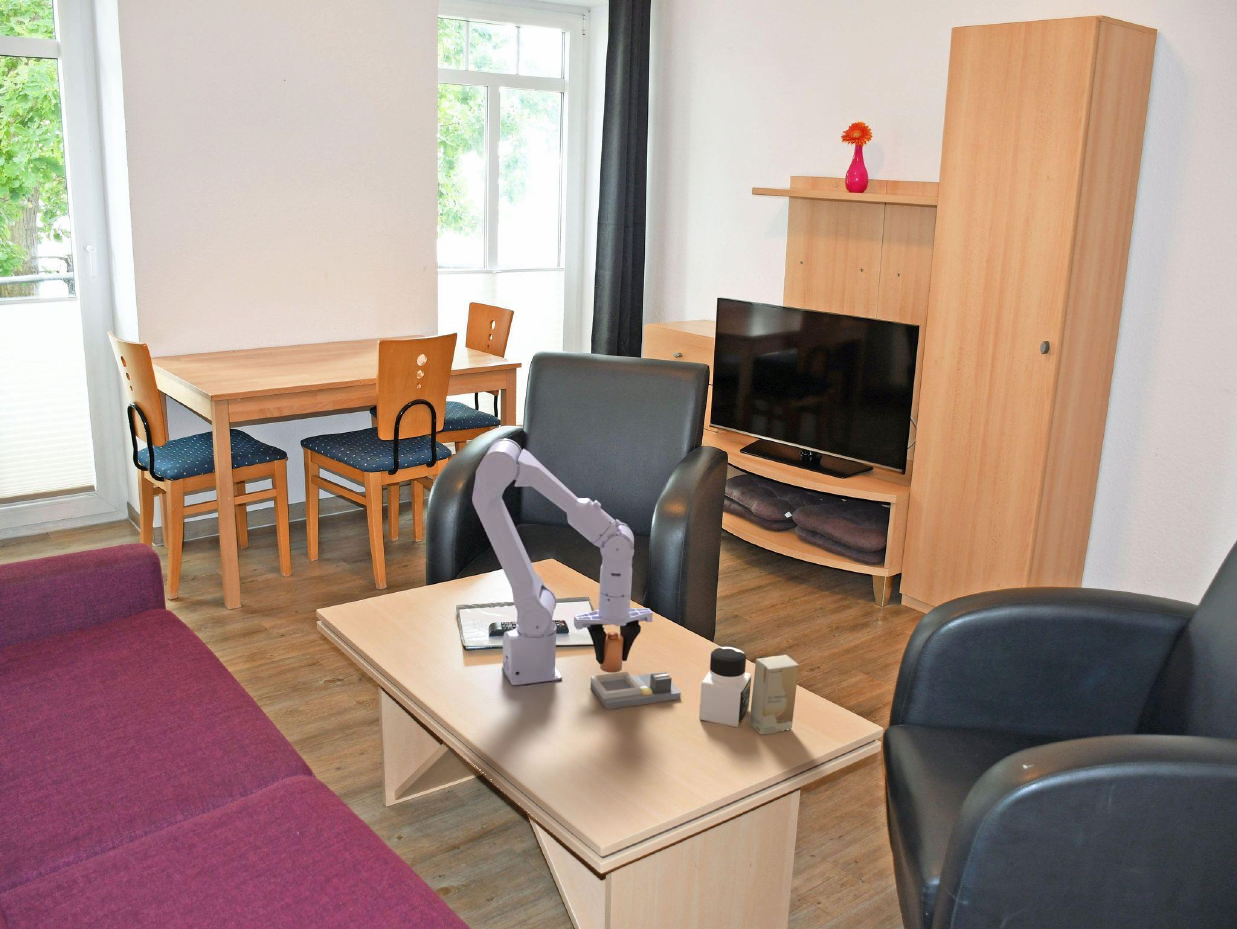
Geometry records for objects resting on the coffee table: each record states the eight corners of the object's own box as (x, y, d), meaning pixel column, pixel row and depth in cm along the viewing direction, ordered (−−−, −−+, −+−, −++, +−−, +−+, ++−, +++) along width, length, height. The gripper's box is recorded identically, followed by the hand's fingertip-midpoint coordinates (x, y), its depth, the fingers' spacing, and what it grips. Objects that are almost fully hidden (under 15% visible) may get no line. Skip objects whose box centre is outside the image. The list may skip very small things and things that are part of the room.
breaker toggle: (655, 693, 193) (656, 679, 192) (649, 686, 195) (650, 673, 194) (670, 691, 194) (671, 677, 193) (665, 684, 196) (666, 671, 195)
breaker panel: (606, 709, 189) (607, 697, 188) (590, 687, 197) (590, 676, 196) (680, 698, 194) (681, 687, 193) (662, 677, 202) (662, 667, 201)
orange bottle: (604, 673, 198) (606, 639, 196) (597, 664, 201) (598, 630, 200) (624, 671, 199) (626, 637, 197) (617, 661, 203) (619, 628, 201)
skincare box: (761, 736, 182) (767, 669, 179) (748, 723, 186) (753, 658, 183) (794, 729, 185) (800, 664, 182) (780, 717, 189) (786, 653, 185)
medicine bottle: (738, 728, 184) (744, 664, 181) (698, 720, 187) (702, 655, 184) (748, 710, 191) (754, 647, 188) (709, 702, 193) (714, 639, 190)
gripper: (584, 603, 190) (580, 674, 194) (660, 596, 195) (656, 665, 199) (571, 588, 196) (568, 657, 200) (646, 581, 202) (641, 649, 205)
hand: (611, 660), depth 200 cm, fingers closed on orange bottle, 4 cm apart
